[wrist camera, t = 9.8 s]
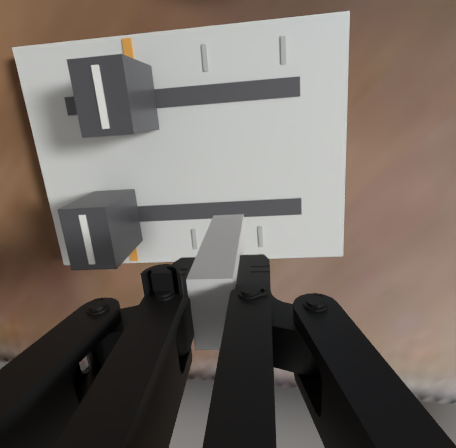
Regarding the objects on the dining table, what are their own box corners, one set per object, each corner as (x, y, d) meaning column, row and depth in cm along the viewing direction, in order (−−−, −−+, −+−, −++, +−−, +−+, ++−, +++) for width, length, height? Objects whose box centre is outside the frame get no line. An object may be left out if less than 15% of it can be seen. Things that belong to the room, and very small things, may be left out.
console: (30, 52, 25) (10, 47, 23) (342, 19, 23) (350, 10, 21) (76, 255, 30) (63, 265, 28) (337, 246, 28) (343, 256, 26)
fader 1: (107, 70, 23) (65, 59, 18) (151, 65, 22) (120, 53, 18) (117, 132, 24) (81, 138, 19) (159, 129, 24) (133, 134, 19)
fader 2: (95, 191, 25) (56, 209, 21) (134, 188, 25) (104, 207, 20) (105, 242, 27) (70, 270, 22) (142, 240, 26) (116, 269, 22)
